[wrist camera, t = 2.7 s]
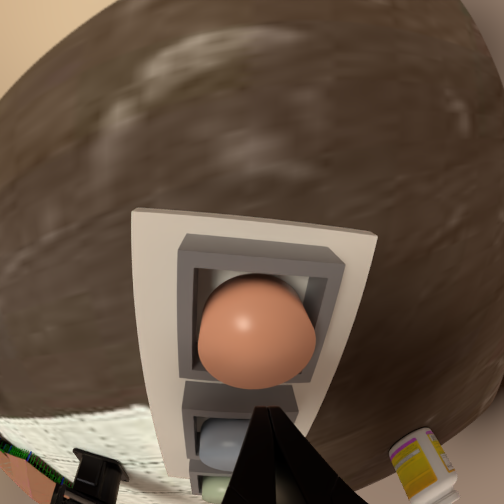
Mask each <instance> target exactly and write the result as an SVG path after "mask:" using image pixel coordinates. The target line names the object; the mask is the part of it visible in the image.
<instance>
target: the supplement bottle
mask: <svg viewBox="0 0 504 504" xmlns="http://www.w3.org/2000/svg"><path fill="white" fill-rule="evenodd" d="M389 457H390V459H391V462H392V464H393V466H394V468H395V470H396V472H397V474H398V476H399V479H400V481H401V483H402V485H403V488H404V490H405V492H406V494H407V496H408V499H409V501H410V503H411V504H452V503H453V502H455V501H456V500H458V499H459V498H460V496H459V493H458V492H457V491H456V490H454V488H453V485H454V484H455V482H456V481H457V473H456V471H455V469H454V468H453V466H452V464H451V462H450V461H449V459H448V458H447V456H446V454H445V452H444V451H443V449H442V447H441V445H440V444H439V442H438V440H437V439H436V437H435V435H434V434H433V432H432V431H431V429H429V428H421V429H418V430H416V431H414V432H412V433H410V434H408V435H406V436H405V437H403V438H402V439H400V440H399V441H398V442H397V443H396V444H395V445H394V446H393V447H392V448H391V449H390V451H389Z"/></svg>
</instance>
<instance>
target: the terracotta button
mask: <svg viewBox="0 0 504 504" xmlns="http://www.w3.org/2000/svg"><path fill="white" fill-rule="evenodd" d="M315 345H316V336H315V331H314V328H313V326H312V323H311V321H310V319H309V317H308V315H307V313H306V311H305V308H304V306H303V304H302V302H301V300H300V298H299V296H298V294H297V293H296V291H295V290H294V289H293V288H292V287H291V286H290V285H289V284H287V283H286V282H285V281H283V280H281V279H279V278H277V277H274V276H271V275H267V274H260V273H251V274H243V275H239V276H236V277H233V278H231V279H229V280H227V281H225V282H223V283H222V284H220V285H219V286H218V287H217V288H215V289H214V290H213V292H212V293H211V294H210V295H209V297H208V298H207V300H206V302H205V305H204V308H203V313H202V319H201V326H200V333H199V340H198V354H199V358H200V360H201V362H202V364H203V366H204V367H205V369H206V370H207V371H208V372H209V373H210V374H211V375H212V376H213V377H214V378H216V379H217V380H219V381H221V382H223V383H225V384H227V385H230V386H233V387H236V388H242V389H264V388H269V387H273V386H276V385H279V384H282V383H284V382H286V381H288V380H290V379H291V378H293V377H294V376H296V375H297V374H298V373H300V372H301V371H302V370H303V369H304V368H305V367H306V365H307V364H308V363H309V361H310V359H311V357H312V355H313V353H314V350H315Z"/></svg>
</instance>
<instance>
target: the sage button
mask: <svg viewBox="0 0 504 504" xmlns="http://www.w3.org/2000/svg"><path fill="white" fill-rule="evenodd" d="M230 479H231V477H223V476H205V475H204V476H203V478H202V499H203V500H205V501H207V502H209V503H213V504H221V502H222V500H223V497H224V495H225V492H226V489H227V487H228V484H229V481H230Z"/></svg>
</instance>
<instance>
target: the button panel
mask: <svg viewBox="0 0 504 504" xmlns="http://www.w3.org/2000/svg"><path fill="white" fill-rule="evenodd" d="M377 237H378V236H377V235H375V234H373V233H372V232H370V231H364V230H357V229H349V228H342V227H334V226H327V225H319V224H310V223H302V222H294V221H285V220H276V219H267V218H257V217H247V216H237V215H227V214H216V213H204V212H192V211H180V210H166V209H152V208H136V209H135V210H133V211H132V215H131V241H132V272H133V289H134V302H135V313H136V323H137V332H138V340H139V348H140V355H141V361H142V368H143V374H144V379H145V385H146V390H147V395H148V400H149V405H150V410H151V414H152V419H153V423H154V427H155V431H156V435H157V439H158V443H159V447H160V450H161V454H162V457H163V461H164V464H165V467H166V471H167V474H168V476H170V477H177V478H186V479H190V483H191V489H192V495H202V478H203V476H204V475H205V476H223V477H231V476H232V473H233V472H232V471H223V470H218V469H215V468H212V467H209V466H207V465H206V464H204V463H203V462H202V461H201V459H200V457H199V453H200V435H201V426H202V424H203V422H205V421H206V420H207V419H208V418H210V417H211V418H228V419H251V415H252V412H253V409H254V407H255V406H266V407H267V406H280V407H281V408H282V410H283V411H284V412H285V413H286V415H287V416H288V417H289V418H290V420H291V421H292V422H293V423H294V425H295V426H296V427H297V428H298V429H299V431H300V432H301V433H302V434H303V435H304V437H306V435H307V433H308V431H309V429H310V427H311V425H312V423H313V421H314V419H315V417H316V415H317V413H318V411H319V408H320V406H321V404H322V402H323V400H324V397H325V395H326V393H327V390H328V388H329V386H330V383H331V381H332V379H333V376H334V374H335V371H336V369H337V366H338V364H339V361H340V358H341V356H342V353H343V351H344V348H345V345H346V342H347V340H348V337H349V334H350V331H351V328H352V325H353V322H354V319H355V316H356V313H357V310H358V307H359V304H360V301H361V297H362V294H363V291H364V287H365V284H366V280H367V277H368V273H369V269H370V266H371V262H372V258H373V254H374V250H375V246H376V242H377ZM251 273H260V274H267V275H271V276H274V277H277V278H279V279H281V280H283V281H285V282H286V283H287V284H289V285H290V286H291V287H292V288H293V289H294V290H295V291H296V293H297V294H298V296H299V298H300V300H301V302H302V304H303V306H304V308H305V311H306V313H307V315H308V317H309V319H310V321H311V323H312V326H313V328H314V331H315V336H316V345H315V350H314V353H313V355H312V357H311V359H310V361H309V363H308V364H307V365H306V367H305V368H304V369H303V370H302V371H301V372H300V373H298V374H297V375H296V376H294V377H293V378H291V379H290V380H288V381H286V382H284V383H282V384H279V385H276V386H273V387H269V388H264V389H242V388H236V387H233V386H230V385H227V384H225V383H223V382H221V381H219V380H217V379H216V378H214V377H213V376H212V375H211V374H210V373H209V372H208V371H207V370H206V369H205V367H204V366H203V364H202V362H201V360H200V358H199V354H198V340H199V333H200V326H201V319H202V313H203V308H204V305H205V302H206V300H207V298H208V297H209V295H210V294H211V293H212V292H213V290H214V289H215V288H217V287H218V286H219V285H220V284H222V283H223V282H225V281H227V280H229V279H231V278H233V277H236V276H239V275H243V274H251Z"/></svg>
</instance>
